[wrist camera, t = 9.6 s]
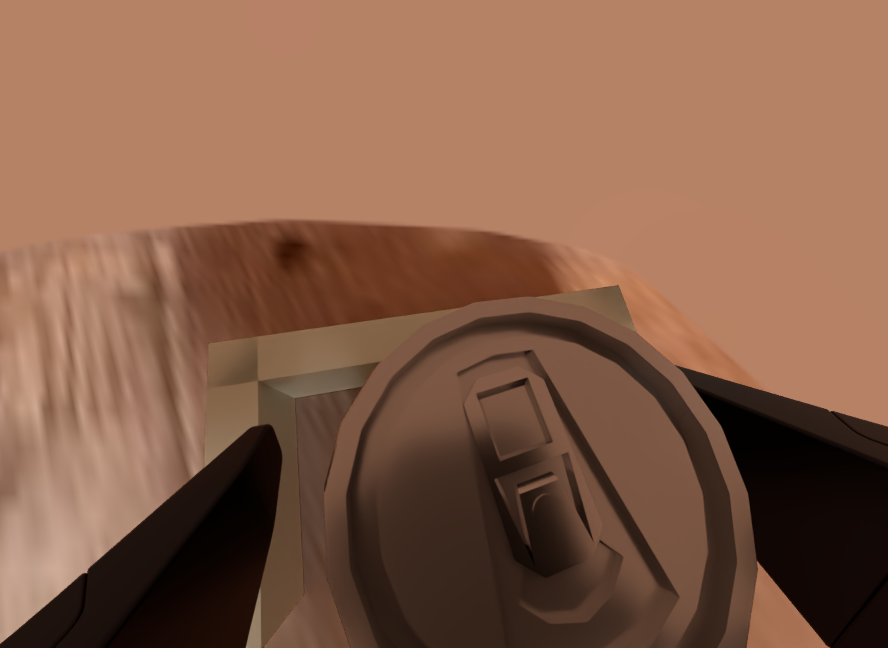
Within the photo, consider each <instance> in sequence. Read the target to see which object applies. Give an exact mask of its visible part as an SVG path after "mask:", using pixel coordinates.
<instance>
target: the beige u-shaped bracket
mask: <svg viewBox="0 0 888 648" xmlns="http://www.w3.org/2000/svg"><path fill="white" fill-rule="evenodd" d="M536 298H541V299H547V300H552V301H558V302H563V303H568V304H574V305H579V306H584V307H586V308H588V309H590V310H592V311H594V312H596V313H598V314H600V315H602V316H604V317H606V318H609V319H611V320H613V321H615V322H617V323H619V324H621V325H623V326H625V327H627V328H629V329H631V330H633V331H635V332H636V329H635V327H634V324H633V322H632V319H631V316H630V314H629V311H628V309H627V306H626V303H625V301H624V298H623V296H622V293H621V290H620V288H619V285H617V286H610V287H603V288H596V289H589V290H582V291H575V292H568V293H561V294H554V295H547V296H539V297H536ZM458 309H460V308H455V309H448V310H441V311H434V312H426V313H419V314H412V315H405V316H398V317H391V318H384V319H377V320H370V321H363V322H356V323H349V324H342V325H335V326H328V327H321V328H314V329H306V330H299V331H292V332H285V333H278V334H271V335H264V336H257V337H250V338H243V339H236V340H229V341H222V342H215V343H208V371H207V399H206V428H205V457H204V467H205V466H207V465H208V464H209V463H210V462H211V461H212V460H213V459H215V458H216V457H217V456H218V455H219V454H220V453H221V452H223V451H224V450H225V449H226V448H227V447H228V446H229V445H231V444H232V443H233V442H234V441H235V440H236V439H237V438H239V437H240V436H241V435H242V434H243V433H244V432H245V431H247V430H248V429H249V428H250V427H253V426H258V425H263V424H270V425H272V427H273V428H274V430H275V433H276V436H277V439H278V442H279V444H280V447H281V450H282V456H283V461H282V469H281V478H280V486H279V494H278V502H277V511H276V518H275V525H274V530H273V535H272V540H271V544H270V548H269V552H268V556H267V561H266V565H265V569H264V573H263V578H262V582H261V586H260V590H259V594H258V599H257V603H256V607H255V611H254V615H253V620H252V624H251V628H250V632H249V636H248V641H247V645H246V648H263V647H264V646H265V645H266V643H267V642H268V641H269V640H270V638H271V637H272V636H273V634H274V633H275V632H276V630H277V629H278V628H279V626H280V625H281V624H282V622H283V621H284V620H285V618H286V617H287V616H288V615H289V613H290V612H291V611H292V609H293V608H294V607H295V605H296V604H297V603H298V601H299V600H300V599H301V597H302V596H303V595H304V582H303V560H302V539H301V518H300V496H299V475H298V453H297V432H296V410H295V398H298V397H304V396H310V395H316V394H322V393H328V392H334V391H340V390H346V389H352V388H358V387H363V385H364V383H365V382H366V380H367V378H368V377H369V375H370V373H371V372H372V371H373V370H374V369H375V368H376V366H377V365H378V364H379V363H380V362H381V361H383V360H384V359H385V358H386V357H387V356H388V355H389V354H390V353H392V352H393V351H394V350H395V349H396V348H397V347H398V346H399V345H401V344H402V343H403V342H404V341H405V340H406V339H407V338H408V337H410V336H411V335H412V334H413V333H414V332H415V331H416V330H418V329H419V328H420V327H421V326H422V325H424V324H426V323H428V322H431V321H433V320H435V319H437V318H440V317H442V316H444V315H446V314H449V313H451V312H453V311H456V310H458Z"/></svg>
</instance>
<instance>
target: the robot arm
mask: <svg viewBox="0 0 888 648" xmlns="http://www.w3.org/2000/svg"><path fill="white" fill-rule="evenodd" d="M675 366H676V365H675ZM676 367H677V368H678V369H680V370H681V371H682V372H683V373H684V375H685V376H686V378H687V379H688V380H689V382H690V383H691V385H692V386H693V387H694V389H695V390H696V392H697V393H698V394H699V396H700V397H701V399H702V400H703V401H704V403H705V404H706V406H707V407H708V409H709V410H710V411H711V413H712V414H713V416H714V417H715V418H716V420H717V421H718V423H719V424H720V425H721V427H722V429H723V432H724V434H725V437H726V440H727V442H728V445H729V447H730V450H731V452H732V455H733V457H734V460H735V462H736V465H737V467H738V470H739V472H740V475H741V477H742V480H743V482H744V485H745V487H746V490H747V492H748V498H749V506H750V513H751V521H752V529H753V536H754V544H755V552H756V559H757V561H758V562H759V564H760V565H761V566H762V567H763V569H764V570H765V571H766V572H767V573H768V575H769V576H770V577H771V578H772V579H773V581H774V582H775V583H776V584H777V586H778V587H779V588H780V589H781V590H782V592H783V593H784V594H785V595H786V597H787V598H788V599H789V600H790V601H791V603H792V604H793V605H794V606H795V608H796V609H797V610H798V611H799V612H800V614H801V615H802V616H803V617H804V619H805V620H806V621H807V622H808V623H809V625H810V626H811V627H812V628H813V629H814V631H815V632H816V633H817V634H818V636H819V637H820V638H821V639H822V640H823V642H824V643H825V644H826V645H827V646H828V647H830V648H888V427H887V426H883V425H880V424H876V423H873V422H869V421H866V420H862V419H859V418H855V417H852V416H848V415H845V414H841V413H838V412H835V411H831V412H829V410H827V409H824V408H820V407H817V406H814V405H810V404H807V403H803V402H800V401H796V400H793V399H789V398H786V397H783V396H779V395H776V394H772V393H769V392H766V391H762V390H759V389H755V388H752V387H748V386H745V385H742V384H738V383H735V382H731V381H728V380H724V379H721V378H717V377H714V376H711V375H707V374H704V373H700V372H697V371H693V370H690V369H687V368H683V367H680V366H676ZM282 461H283V456H282V450H281V447H280V444H279V442H278V439H277V436H276V433H275V430H274V428H273V427H272V425H270V424H263V425H258V426H253V427H250V428H249V429H248V430H247V431H245V432H244V433H243V434H242V435H241V436H240V437H239V438H237V439H236V440H235V441H234V442H233V443H232V444H231V445H229V446H228V447H227V448H226V449H225V450H224V451H223V452H221V453H220V454H219V455H218V456H217V457H216V458H215V459H213V460H212V461H211V462H210V463H209V464H208V465H207V466H205V467H204V468H203V469H202V470H201V471H200V472H199V473H197V474H196V475H195V476H194V477H193V478H192V479H191V480H189V481H188V482H187V483H186V484H185V485H184V486H183V487H181V488H180V489H179V490H178V491H177V492H176V493H174V494H173V495H172V496H171V497H170V498H169V499H168V500H166V501H165V502H164V503H163V504H162V505H161V506H160V507H158V508H157V509H156V510H155V511H154V512H153V513H152V514H150V515H149V516H148V517H147V518H146V519H145V520H144V521H142V522H141V523H140V524H139V525H138V526H137V527H136V528H134V529H133V530H132V531H131V532H130V533H129V534H128V535H126V536H125V537H124V538H123V539H122V540H121V541H120V542H118V543H117V544H116V545H115V546H114V547H113V548H111V549H110V550H109V551H108V552H107V553H106V554H105V555H103V556H102V557H101V558H100V559H99V560H98V561H97V562H95V563H94V564H93V565H92V566H91V567H90V568H89V569H88V571H87V573H83V574H82V575H80V576H79V577H78V578H77V579H76V580H75V581H74V582H72V583H71V584H70V585H69V586H68V587H67V588H66V589H64V590H63V591H62V592H61V593H60V594H59V595H58V596H56V597H55V598H54V599H53V600H52V601H51V602H49V603H48V604H47V605H46V606H45V607H43V608H42V609H41V610H40V611H39V612H38V613H36V614H35V615H34V616H33V617H32V618H31V619H29V620H28V621H27V622H26V623H25V624H24V625H22V626H21V627H20V628H19V629H18V630H16V631H15V632H14V633H13V634H12V635H11V636H9V637H8V638H7V639H6V640H4V641H3V642H2V643H1V644H0V648H246V645H247V641H248V636H249V632H250V628H251V624H252V620H253V615H254V611H255V607H256V603H257V599H258V594H259V590H260V586H261V582H262V578H263V573H264V569H265V565H266V561H267V556H268V552H269V548H270V544H271V540H272V535H273V530H274V525H275V518H276V511H277V502H278V494H279V486H280V478H281V469H282Z"/></svg>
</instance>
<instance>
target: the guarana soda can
mask: <svg viewBox="0 0 888 648" xmlns="http://www.w3.org/2000/svg"><path fill="white" fill-rule="evenodd" d="M324 514H325V540H326V567H327V581H328V584H329V587H330V589H331V592H332V595H333V598H334V601H335V604H336V607H337V610H338V613H339V616H340V619H341V622H342V624H343V627H344V630H345V633H346V636H347V639H348V642H349V645H350V648H746V647H747V640H748V633H749V626H750V619H751V612H752V605H753V598H754V592H755V585H756V578H757V571H758V567H757V559H756V552H755V544H754V536H753V529H752V521H751V513H750V506H749V498H748V492H747V490H746V487H745V485H744V482H743V480H742V477H741V475H740V472H739V470H738V467H737V465H736V462H735V460H734V457H733V455H732V452H731V450H730V447H729V445H728V442H727V440H726V437H725V434H724V432H723V429H722V427H721V425H720V424H719V423H718V421H717V420H716V418H715V417H714V416H713V414H712V413H711V411H710V410H709V409H708V407H707V406H706V404H705V403H704V401H703V400H702V399H701V397H700V396H699V394H698V393H697V392H696V390H695V389H694V387H693V386H692V385H691V383H690V382H689V380H688V379H687V378H686V376H685V375H684V373H683V372H682V371H681V370H680V369H678V368H677V367H676V366H675V365H674V364H673V363H671V362H670V361H669V360H668V359H667V358H666V357H664V356H663V355H662V354H661V353H660V352H659V351H657V350H656V349H655V348H654V347H653V346H652V345H650V344H649V343H648V342H647V341H646V340H645V339H643V338H642V337H641V336H640V335H639V334H638V333H637V332H635V331H633V330H631V329H629V328H627V327H625V326H623V325H621V324H619V323H617V322H615V321H613V320H611V319H609V318H606V317H604V316H602V315H600V314H598V313H596V312H594V311H592V310H590V309H588V308H586V307H584V306H579V305H574V304H568V303H563V302H558V301H552V300H547V299H541V298H536V297H530V296H526V297H517V298H508V299H499V300H490V301H481V302H474V303H471V304H469V305H467V306H465V307H462V308H460V309H458V310H456V311H453V312H451V313H449V314H446V315H444V316H442V317H440V318H437V319H435V320H433V321H431V322H428V323H426V324H424V325H422V326H421V327H420V328H419V329H418V330H416V331H415V332H414V333H413V334H412V335H411V336H410V337H408V338H407V339H406V340H405V341H404V342H403V343H402V344H401V345H399V346H398V347H397V348H396V349H395V350H394V351H393V352H392V353H390V354H389V355H388V356H387V357H386V358H385V359H384V360H383V361H381V362H380V363H379V364H378V365H377V366H376V368H375V369H374V370H373V371H372V372H371V373H370V375H369V377H368V378H367V380H366V382H365V383H364V385H363V387H362V388H361V390H360V392H359V393H358V395H357V397H356V398H355V400H354V401H353V403H352V405H351V406H350V408H349V410H348V411H347V413H346V415H345V416H344V418H343V420H342V421H341V423H340V427H339V431H338V435H337V439H336V443H335V447H334V450H333V454H332V458H331V462H330V466H329V470H328V474H327V478H326V482H325V485H324Z"/></svg>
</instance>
